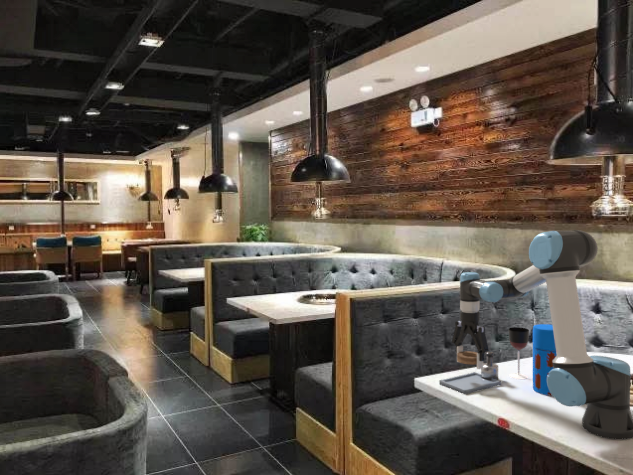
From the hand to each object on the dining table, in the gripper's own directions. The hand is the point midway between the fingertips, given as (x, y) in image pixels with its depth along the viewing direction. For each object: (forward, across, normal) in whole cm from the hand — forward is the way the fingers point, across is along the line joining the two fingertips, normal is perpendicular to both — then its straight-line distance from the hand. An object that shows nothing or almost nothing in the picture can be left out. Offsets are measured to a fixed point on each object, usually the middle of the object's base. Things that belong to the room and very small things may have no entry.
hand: (469, 365), depth 213 cm
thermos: (+8, -22, -20) cm, 30 cm away
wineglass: (+8, -4, -25) cm, 26 cm away
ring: (-2, 0, 0) cm, 2 cm away
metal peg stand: (+8, 0, -11) cm, 14 cm away
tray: (+8, 0, 0) cm, 8 cm away
